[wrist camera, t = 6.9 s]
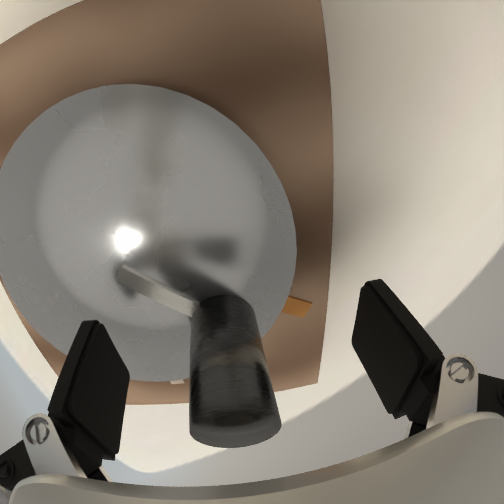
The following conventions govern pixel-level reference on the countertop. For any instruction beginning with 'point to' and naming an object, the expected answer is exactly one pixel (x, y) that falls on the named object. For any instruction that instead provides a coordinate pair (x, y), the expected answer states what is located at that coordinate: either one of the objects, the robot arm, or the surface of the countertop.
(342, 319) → the countertop surface
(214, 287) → the dial
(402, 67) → the countertop surface
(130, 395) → the dial board
